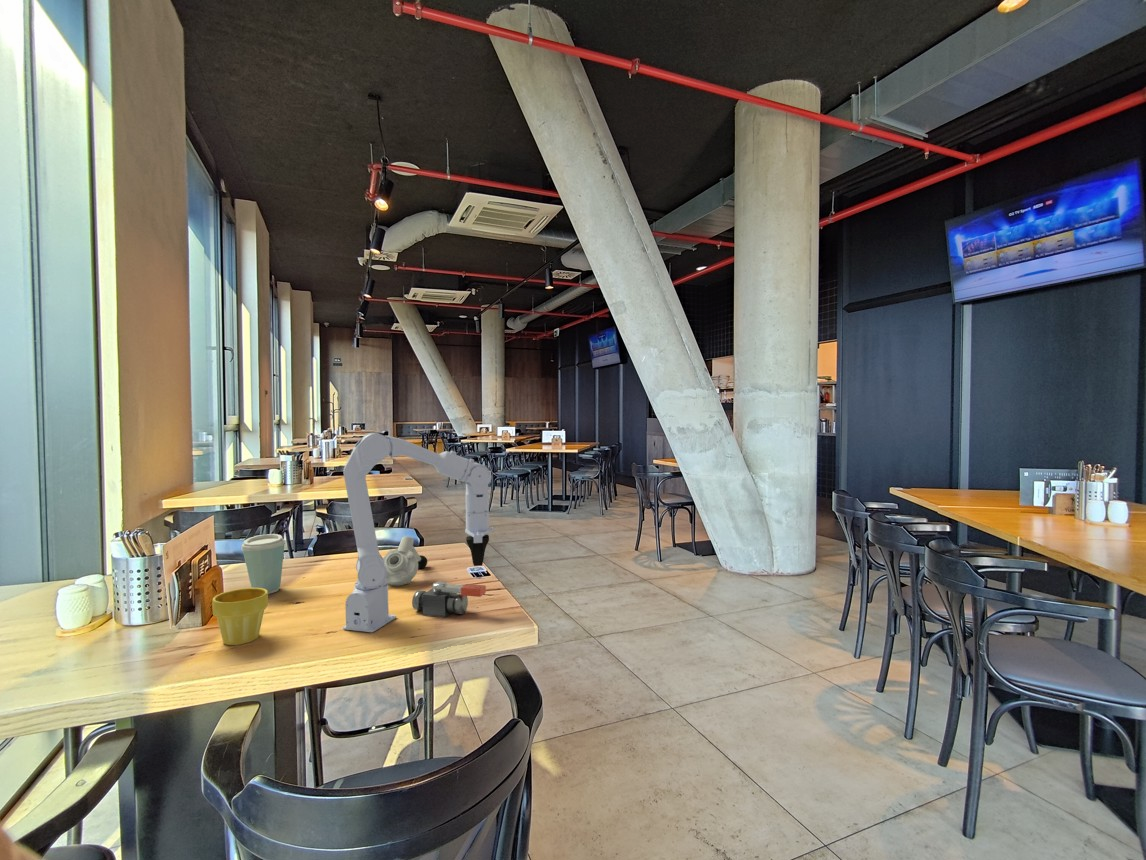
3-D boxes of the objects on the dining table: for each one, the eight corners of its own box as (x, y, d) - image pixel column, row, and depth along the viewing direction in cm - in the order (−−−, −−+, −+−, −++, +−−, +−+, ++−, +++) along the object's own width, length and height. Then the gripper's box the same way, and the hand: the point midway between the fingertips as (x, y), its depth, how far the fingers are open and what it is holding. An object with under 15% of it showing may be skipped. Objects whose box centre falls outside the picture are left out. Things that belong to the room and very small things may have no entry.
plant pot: (278, 629, 123) (277, 586, 123) (251, 649, 113) (250, 602, 113) (232, 629, 123) (231, 587, 123) (201, 649, 113) (200, 603, 113)
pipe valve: (457, 618, 128) (457, 597, 128) (410, 613, 132) (410, 593, 132) (469, 609, 134) (468, 589, 134) (423, 605, 138) (423, 585, 138)
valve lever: (430, 592, 132) (430, 585, 132) (437, 588, 135) (437, 581, 135) (480, 597, 128) (480, 589, 128) (485, 592, 131) (485, 584, 131)
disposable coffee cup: (284, 595, 147) (282, 539, 146) (238, 600, 143) (236, 543, 142) (289, 583, 157) (287, 532, 156) (246, 588, 153) (244, 535, 152)
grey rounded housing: (425, 606, 164) (439, 560, 173) (405, 579, 149) (422, 530, 158) (393, 602, 166) (409, 557, 175) (370, 575, 150) (389, 527, 159)
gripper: (494, 515, 130) (495, 572, 130) (492, 505, 144) (492, 556, 144) (464, 517, 128) (465, 574, 129) (465, 506, 143) (465, 558, 143)
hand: (478, 565), depth 137 cm, fingers closed
